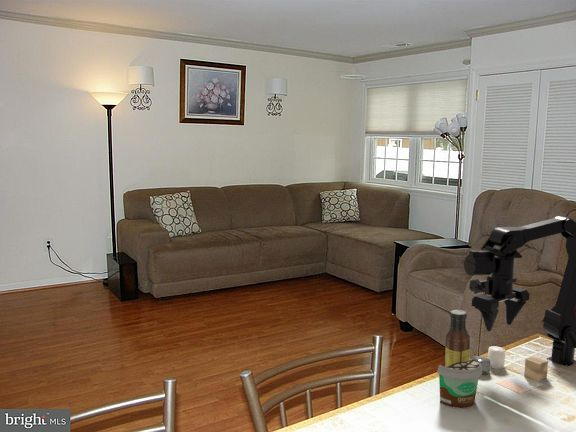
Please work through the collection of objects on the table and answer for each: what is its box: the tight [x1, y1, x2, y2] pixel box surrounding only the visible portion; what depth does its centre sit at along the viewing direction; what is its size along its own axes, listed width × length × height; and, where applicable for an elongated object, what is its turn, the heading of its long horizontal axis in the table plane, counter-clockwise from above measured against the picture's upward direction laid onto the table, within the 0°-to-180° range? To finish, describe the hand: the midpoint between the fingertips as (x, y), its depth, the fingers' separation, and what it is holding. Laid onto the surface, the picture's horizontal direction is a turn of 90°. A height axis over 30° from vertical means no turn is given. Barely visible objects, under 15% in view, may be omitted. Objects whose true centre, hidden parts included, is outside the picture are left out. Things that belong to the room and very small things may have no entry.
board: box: [496, 372, 554, 395], centre depth 140 cm, size 14×7×1 cm, turn 123°
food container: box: [436, 356, 482, 409], centre depth 128 cm, size 12×6×10 cm, turn 117°
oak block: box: [523, 355, 549, 382], centre depth 142 cm, size 4×4×5 cm
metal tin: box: [470, 355, 491, 376], centre depth 146 cm, size 5×5×4 cm
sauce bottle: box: [444, 309, 471, 367], centre depth 138 cm, size 6×6×20 cm
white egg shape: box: [487, 345, 506, 370], centre depth 149 cm, size 4×4×6 cm
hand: (499, 327), depth 148 cm, fingers open, 9 cm apart
